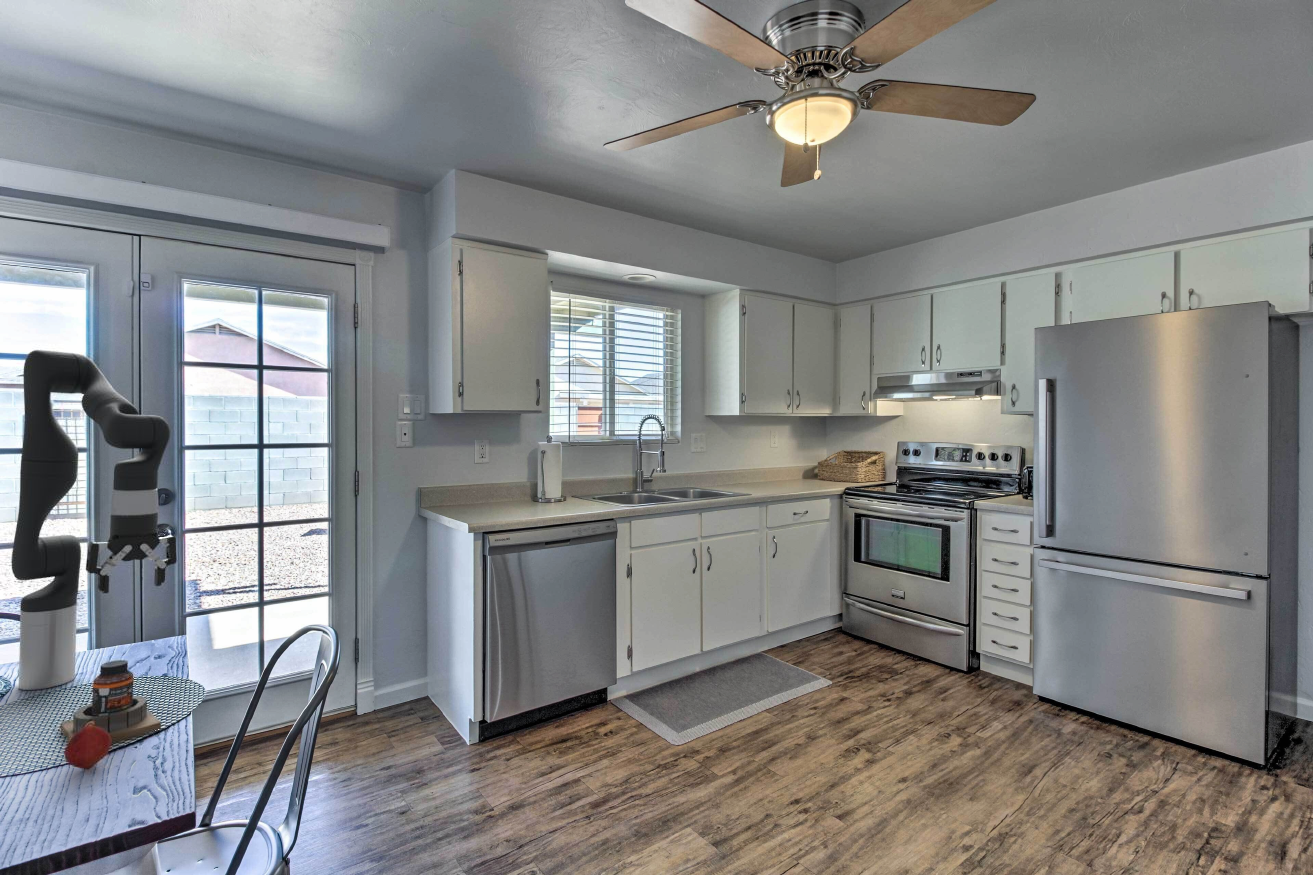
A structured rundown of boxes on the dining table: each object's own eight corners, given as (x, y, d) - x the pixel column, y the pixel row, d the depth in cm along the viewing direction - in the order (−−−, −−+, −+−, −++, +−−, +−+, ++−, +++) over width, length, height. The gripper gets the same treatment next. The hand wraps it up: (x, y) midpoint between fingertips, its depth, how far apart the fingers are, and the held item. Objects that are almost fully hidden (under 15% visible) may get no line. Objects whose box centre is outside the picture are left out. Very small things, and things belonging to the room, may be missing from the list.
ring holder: (60, 730, 120) (60, 706, 120) (139, 709, 129) (140, 688, 129) (77, 753, 111) (77, 728, 111) (160, 729, 121) (161, 706, 121)
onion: (71, 781, 102) (72, 733, 102) (59, 771, 105) (60, 724, 105) (116, 766, 107) (117, 719, 107) (103, 756, 110) (104, 711, 110)
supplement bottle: (107, 730, 117) (109, 670, 117) (82, 726, 118) (84, 667, 118) (140, 716, 123) (141, 659, 123) (116, 713, 124) (117, 656, 124)
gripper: (171, 506, 137) (168, 580, 137) (84, 511, 126) (82, 591, 126) (182, 510, 132) (179, 586, 133) (93, 515, 121) (90, 599, 121)
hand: (131, 588), depth 129 cm, fingers open, 8 cm apart
